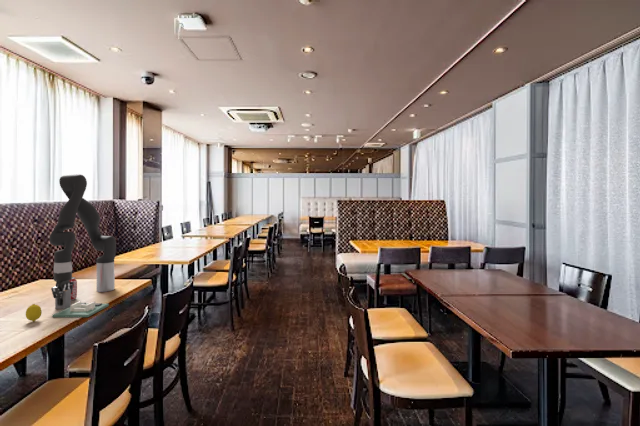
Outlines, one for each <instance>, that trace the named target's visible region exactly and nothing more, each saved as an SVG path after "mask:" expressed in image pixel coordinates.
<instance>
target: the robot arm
mask: <svg viewBox="0 0 640 426" xmlns="http://www.w3.org/2000/svg"><path fill="white" fill-rule="evenodd" d="M58 180H59V186H60V188H61V190H62V192H63V193H64V194H65V196H66V197H67V198H68V201H66V203H65V204H64V205H63V207H62V208H61V209H60V211H59V215H58V220H57V222H56V225H55V226H54V229H53V230H52V231H51V233H50V236H49V243H50V244H51V245H52V246H55V247H56V246H57V247H59V246H61V247H62V246H64V248H63V249H59V250H55V252H54V254H53V258H54V259H53V262H54V263H53V281H54V282H56V283H55V286H54V287H51V289H50V290H51V292H52V297H53V299H55V298H57V305H58V306H62V305H63V293H64V291H65V290H67V289H71V293H72V290H73V285H74V282H70V280H71V279H72V277H73V264H72V252H73V249H74V245H75V243H76V239H77V238H76V235H75V233H74V231H65V230H69V229H72V228H74V226H75V222H76V218H77V217H76V216H78V217H79V220H80V221H81V223H82V224H83V226H84V228H85V230H86V233H87V234H88V237H89V239H90V242H91V245H92V247H93V248H94V250H95V251H99V252H103V254H102V255H101V256H99V257H97V258H96V292H98V293H99V292H101V293H102V292H103V293H106V292H111V291H114V290H115V285H116V283H115V281H116V280H115V276H116V275H115V258H116V255H117V254H116V251H117V239H116V237H114V236H111V235H103V234H102V232H100V229H99V226H100V222H101V216H100V214H99V212H98V211H97V208H96V207H95V206H94V204H92V203H91V202H89V201H88V200H86V199H85V198H83V197H84V194H85V192H86V189H87V186H88V180H87V178H86V177H85V175H83V174H79V173H78V174H65V175H61V176H60V177H59V179H58ZM59 291H62V292H59ZM59 293H60V294H61V295H60V294H59ZM56 294H57V295H56Z"/></svg>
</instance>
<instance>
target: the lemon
mask: <svg viewBox="0 0 640 426" xmlns="http://www.w3.org/2000/svg"><path fill="white" fill-rule="evenodd" d="M42 311H43V310H42V307H41V306H40V305H38V304H35V303H32V304H31V305H29V306H28V307H27V309H26V311H25V317H26V319H27V320H28V321H32V322H36V321H37V320H38V319H40V318H41V317H42Z"/></svg>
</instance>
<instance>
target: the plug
mask: <svg viewBox="0 0 640 426" xmlns="http://www.w3.org/2000/svg"><path fill="white" fill-rule="evenodd" d="M59 292H62V291H59ZM59 294H60V293H59ZM56 295H57V294H56ZM60 295H61V294H60ZM54 300H55V302H54V304H55V305H54V306H55V307H54V308H55V309H58V310H64V309H66V308H68V307H70V305H72V302H71V289H67V290H65V291H64V293H63V305H62V306H58V305H57V298H54Z"/></svg>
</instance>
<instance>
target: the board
mask: <svg viewBox="0 0 640 426" xmlns="http://www.w3.org/2000/svg"><path fill="white" fill-rule="evenodd" d="M109 306H110V304H109V303H102V302H96V300H95V301H92V302H90V303H87V302H81V301H80V300H79V301H77V302H75V303H71V305H70V307H68V308H66V309H61V310H59V311H58V312H56V313H53V314H52V318H89V317H92V316H93V315H94V314H96V313H99V312H100V311H102V310H104V309H106V308H108V307H109Z"/></svg>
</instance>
